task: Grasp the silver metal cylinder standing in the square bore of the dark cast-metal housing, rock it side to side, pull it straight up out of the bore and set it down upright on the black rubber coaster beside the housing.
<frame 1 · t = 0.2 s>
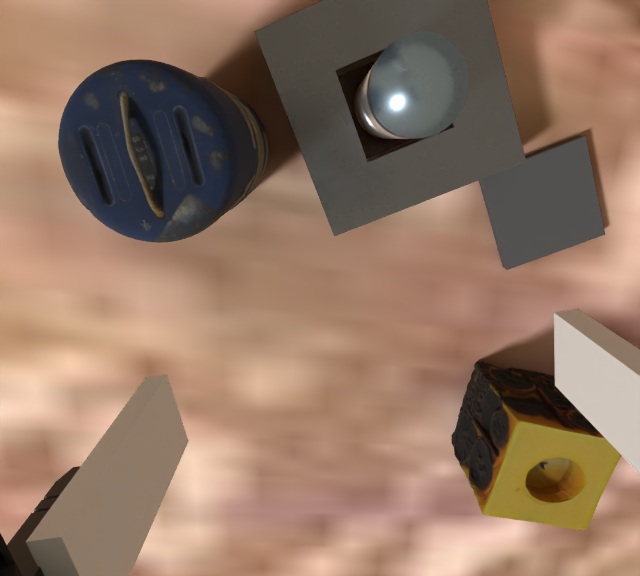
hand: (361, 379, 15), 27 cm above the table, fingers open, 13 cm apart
housing: (387, 103, 38), on the table
silver metal cylinder: (400, 96, 32), in the housing
canister: (216, 149, 39), on the table
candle: (505, 409, 48), on the table
coaster: (539, 204, 40), on the table
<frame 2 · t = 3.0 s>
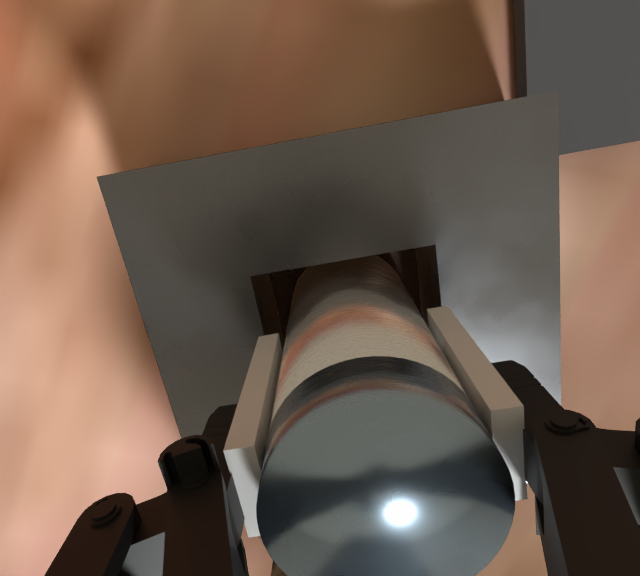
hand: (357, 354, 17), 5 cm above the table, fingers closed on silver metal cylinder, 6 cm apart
housing: (348, 305, 22), on the table
silver metal cylinder: (360, 368, 16), in the housing, touching gripper
coaster: (626, 26, 18), on the table
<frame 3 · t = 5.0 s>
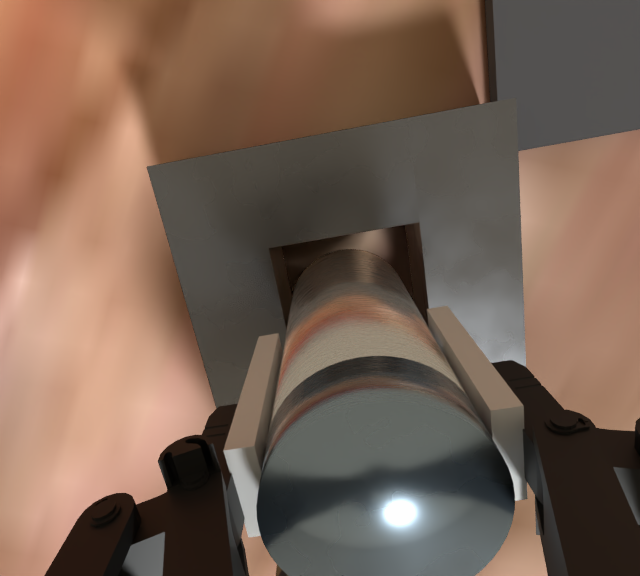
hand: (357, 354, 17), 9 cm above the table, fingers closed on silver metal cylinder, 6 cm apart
housing: (349, 278, 26), on the table
silver metal cylinder: (359, 368, 16), point 11 cm above the table, touching gripper
coaster: (580, 42, 22), on the table
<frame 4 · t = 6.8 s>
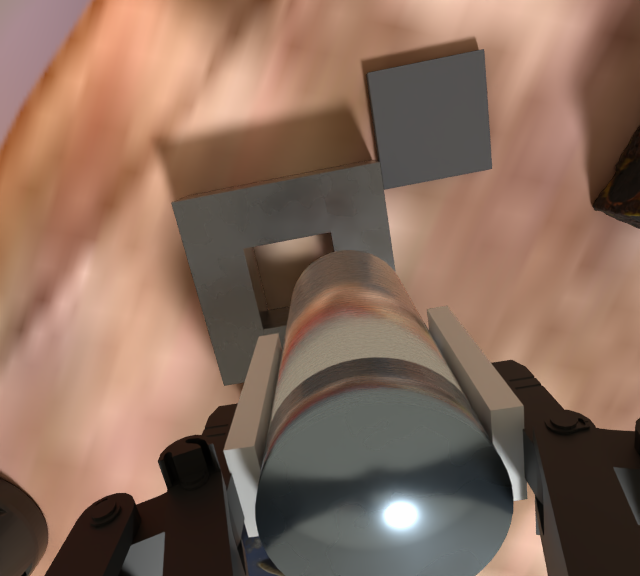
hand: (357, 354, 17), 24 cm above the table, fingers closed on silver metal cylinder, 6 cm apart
housing: (297, 267, 40), on the table
silver metal cylinder: (359, 369, 16), point 25 cm above the table, touching gripper
canister: (308, 411, 45), on the table
coaster: (428, 122, 37), on the table
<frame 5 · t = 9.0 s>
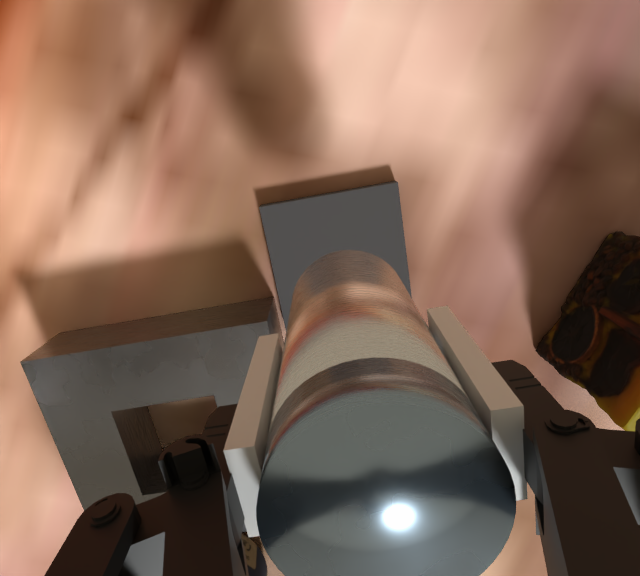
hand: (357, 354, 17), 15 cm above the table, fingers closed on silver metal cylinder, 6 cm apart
housing: (194, 409, 35), on the table
silver metal cylinder: (360, 369, 16), point 16 cm above the table, touching gripper
canister: (217, 555, 40), on the table
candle: (626, 315, 33), on the table
coaster: (338, 258, 31), on the table
when the fingers open (7 cm above the table, at t = 10.7 s): silver metal cylinder stays where it is, resting on coaster.
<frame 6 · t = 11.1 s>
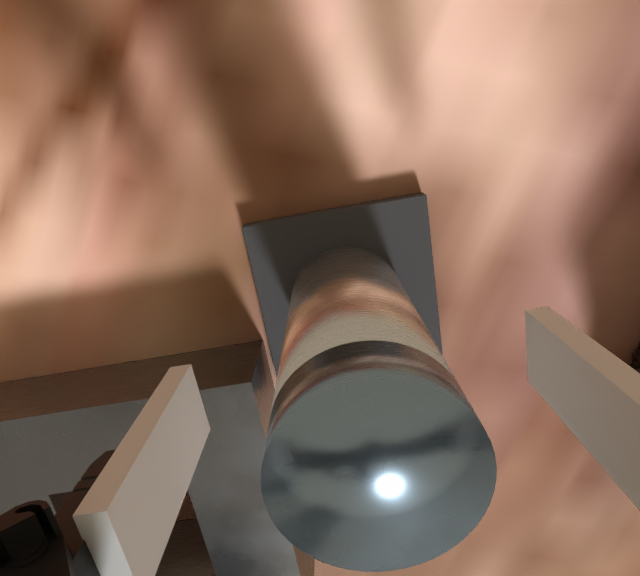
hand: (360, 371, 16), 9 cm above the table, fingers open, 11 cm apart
housing: (164, 477, 28), on the table
silver metal cylinder: (356, 357, 17), on the coaster, point 8 cm above the table
coaster: (346, 291, 24), on the table
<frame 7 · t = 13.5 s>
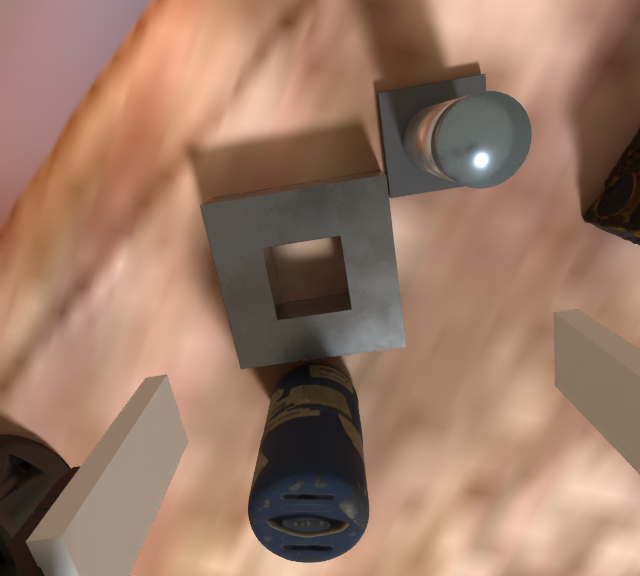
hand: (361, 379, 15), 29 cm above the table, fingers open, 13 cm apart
housing: (310, 265, 45), on the table
silver metal cylinder: (455, 140, 33), on the coaster, point 8 cm above the table
canister: (315, 396, 50), on the table
coaster: (433, 138, 40), on the table
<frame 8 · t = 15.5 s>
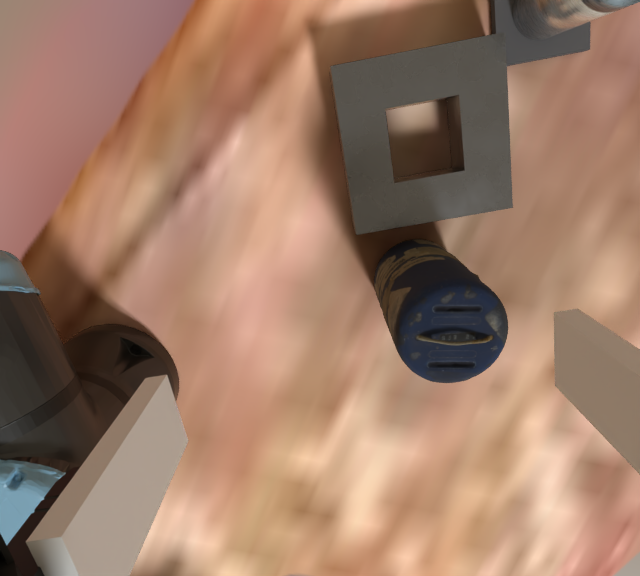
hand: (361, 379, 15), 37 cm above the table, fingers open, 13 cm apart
housing: (416, 140, 48), on the table
canister: (412, 275, 53), on the table
coaster: (537, 9, 44), on the table
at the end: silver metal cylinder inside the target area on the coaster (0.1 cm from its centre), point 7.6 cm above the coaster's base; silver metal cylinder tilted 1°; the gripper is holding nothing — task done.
